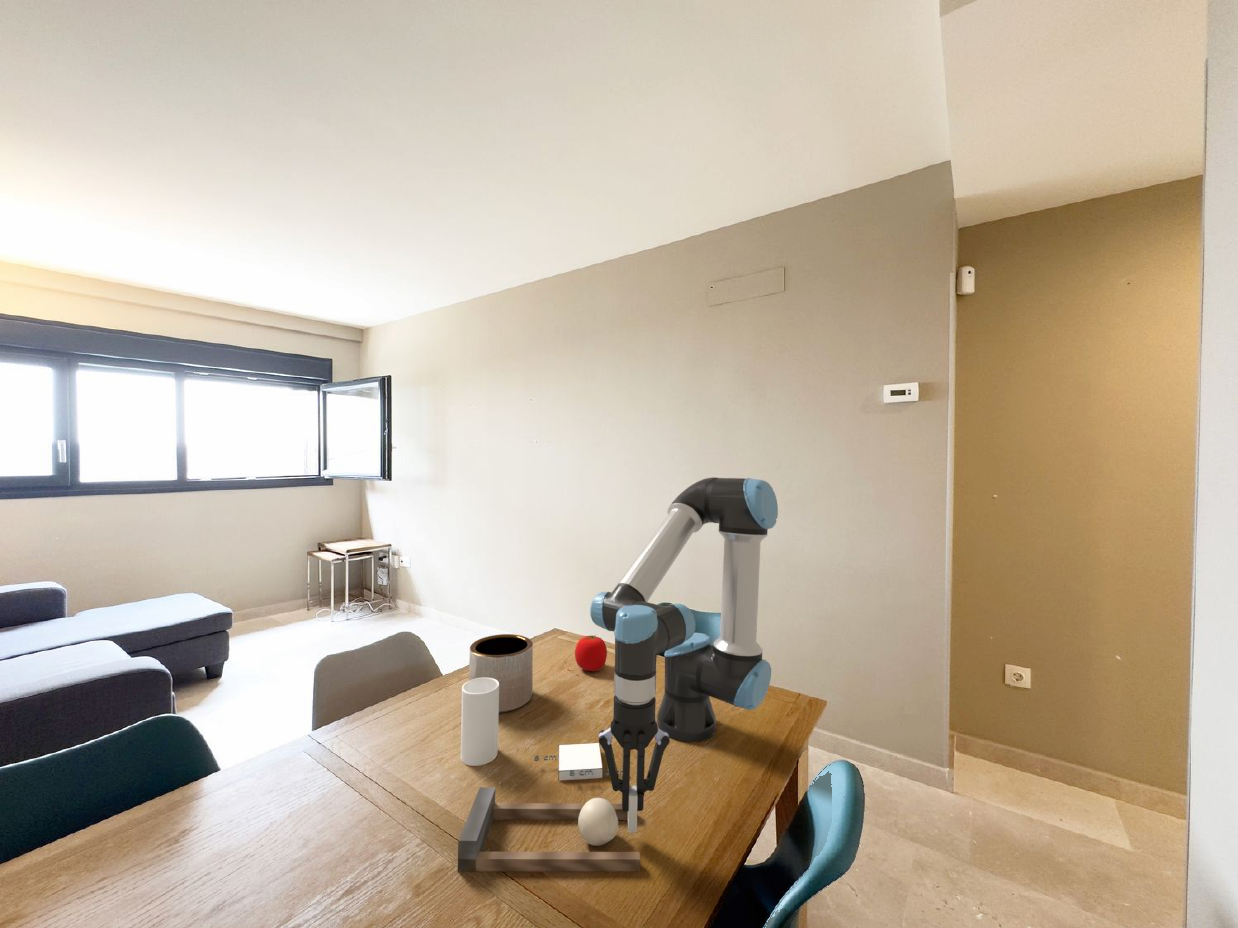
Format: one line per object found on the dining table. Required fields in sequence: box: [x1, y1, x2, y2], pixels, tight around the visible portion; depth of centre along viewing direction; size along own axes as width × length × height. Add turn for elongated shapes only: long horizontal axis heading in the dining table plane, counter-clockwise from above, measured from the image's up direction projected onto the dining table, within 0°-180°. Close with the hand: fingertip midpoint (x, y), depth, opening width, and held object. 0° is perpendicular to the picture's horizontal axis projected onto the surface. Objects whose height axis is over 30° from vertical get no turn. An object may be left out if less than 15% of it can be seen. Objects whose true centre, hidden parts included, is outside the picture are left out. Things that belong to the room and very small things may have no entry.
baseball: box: [577, 797, 619, 847], centre depth 85 cm, size 7×7×7 cm
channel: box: [457, 786, 641, 872], centre depth 85 cm, size 30×13×5 cm, turn 91°
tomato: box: [574, 634, 608, 672], centre depth 157 cm, size 10×11×11 cm
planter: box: [468, 633, 534, 714], centre depth 136 cm, size 18×18×16 cm
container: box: [533, 742, 622, 781], centre depth 106 cm, size 20×11×3 cm, turn 97°
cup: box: [460, 678, 500, 767], centre depth 110 cm, size 8×8×16 cm
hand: (632, 826), depth 85 cm, fingers closed
